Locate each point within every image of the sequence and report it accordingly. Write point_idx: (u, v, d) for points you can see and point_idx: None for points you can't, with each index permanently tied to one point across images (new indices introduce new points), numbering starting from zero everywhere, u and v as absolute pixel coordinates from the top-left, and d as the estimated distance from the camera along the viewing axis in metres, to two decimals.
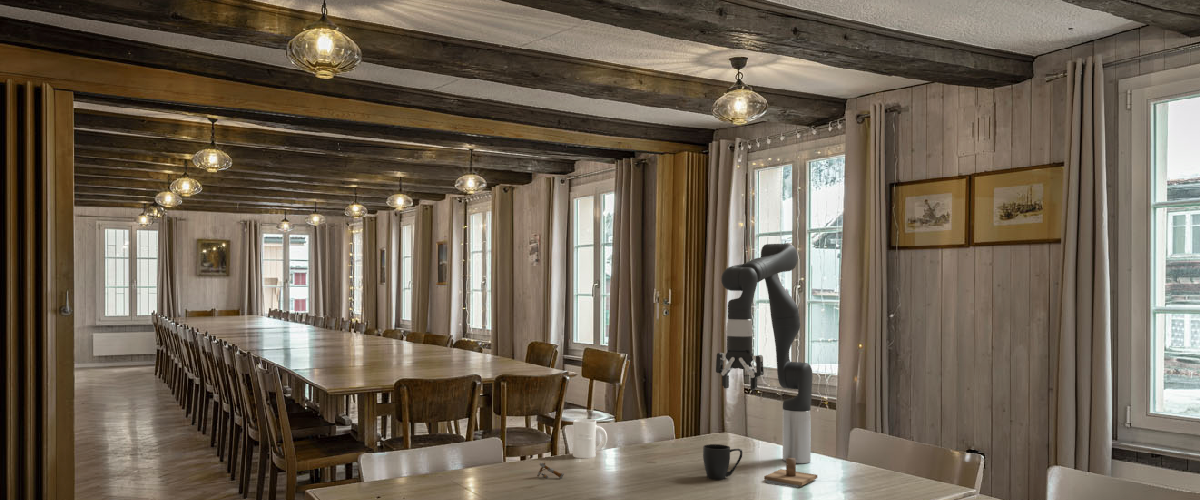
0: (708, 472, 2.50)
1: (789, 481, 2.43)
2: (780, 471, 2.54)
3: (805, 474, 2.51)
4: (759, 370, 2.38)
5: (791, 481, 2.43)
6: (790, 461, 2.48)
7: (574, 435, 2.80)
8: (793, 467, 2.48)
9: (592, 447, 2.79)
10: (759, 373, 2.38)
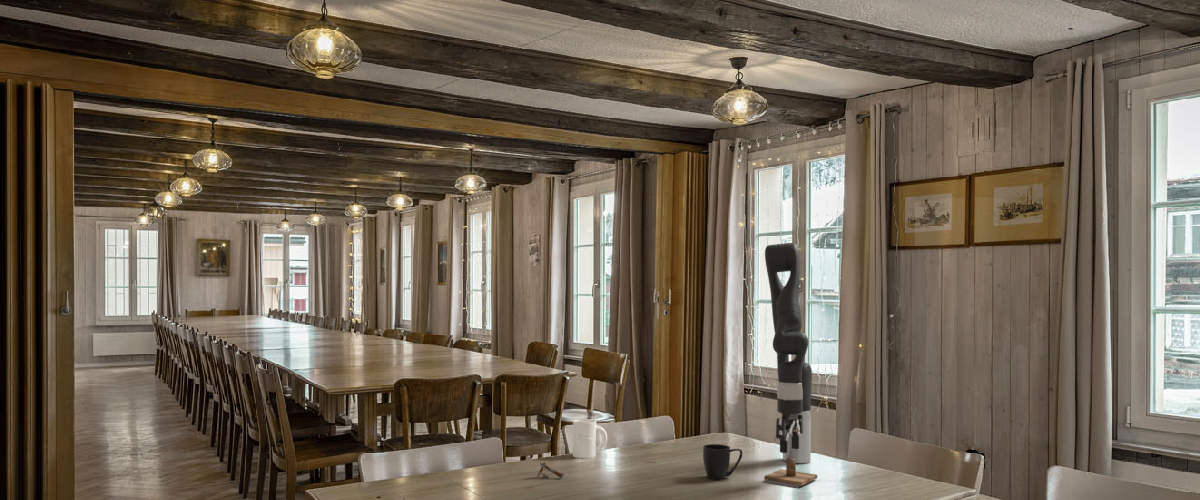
0: (708, 472, 2.50)
1: (789, 481, 2.43)
2: (780, 471, 2.54)
3: (805, 474, 2.51)
4: (802, 428, 2.54)
5: (791, 481, 2.43)
6: (790, 461, 2.48)
7: (574, 435, 2.80)
8: (793, 467, 2.48)
9: (592, 447, 2.79)
10: (802, 431, 2.54)
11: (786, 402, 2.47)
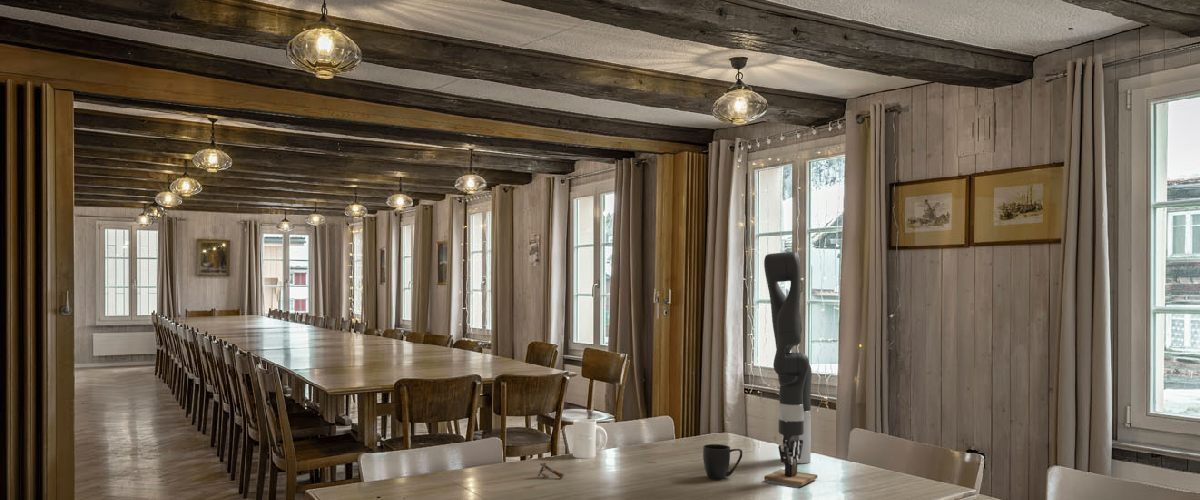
0: (708, 472, 2.50)
1: (789, 481, 2.43)
2: (780, 471, 2.54)
3: (805, 474, 2.51)
4: (800, 454, 2.52)
5: (791, 481, 2.43)
6: None
7: (574, 435, 2.80)
8: (793, 467, 2.48)
9: (592, 447, 2.79)
10: (800, 456, 2.52)
11: (787, 424, 2.46)
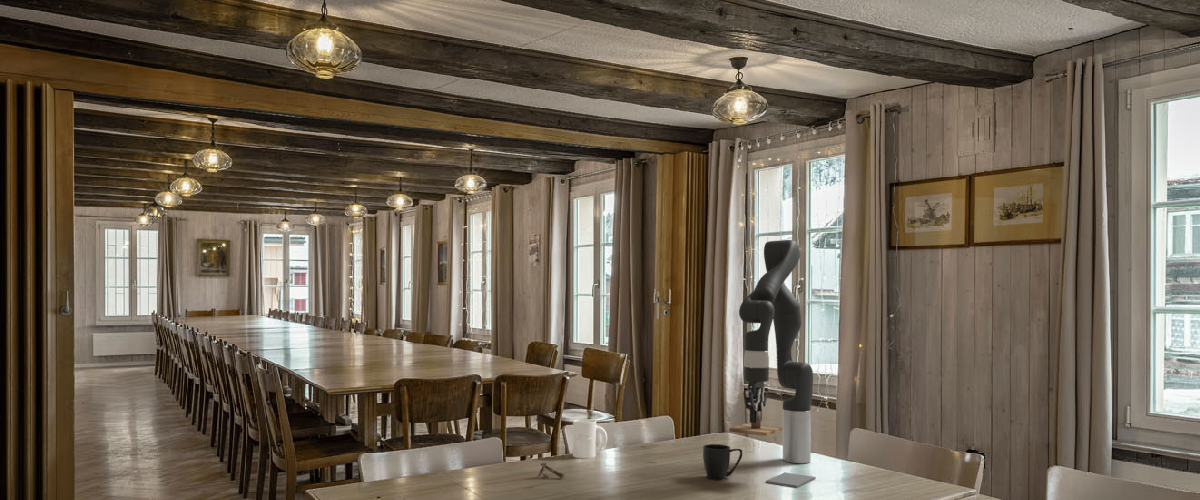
0: (708, 472, 2.50)
1: (754, 432, 2.44)
2: (745, 425, 2.56)
3: (770, 427, 2.52)
4: (765, 401, 2.54)
5: (756, 432, 2.44)
6: None
7: (574, 435, 2.80)
8: (758, 419, 2.49)
9: (592, 447, 2.79)
10: (765, 404, 2.54)
11: (752, 370, 2.48)
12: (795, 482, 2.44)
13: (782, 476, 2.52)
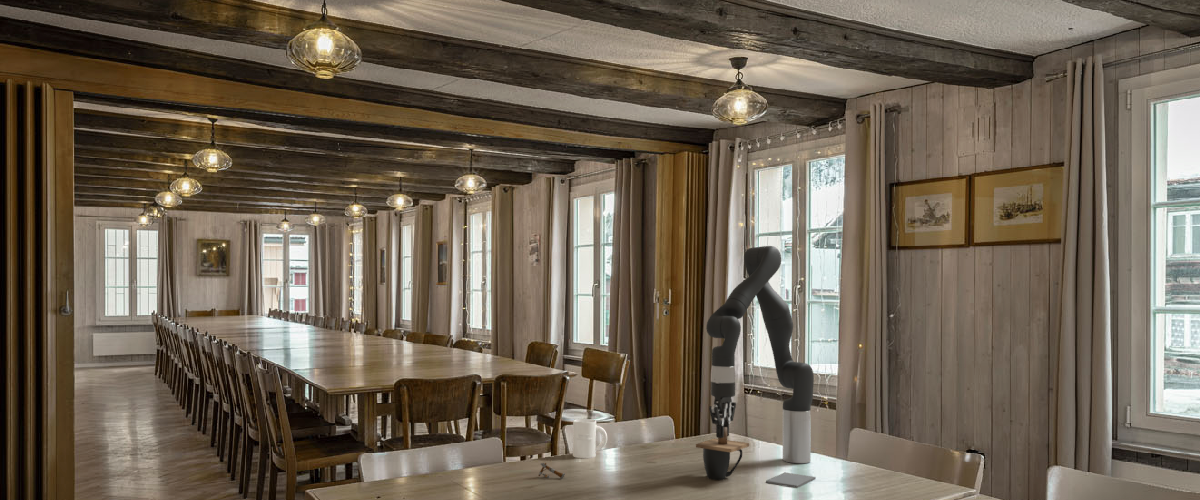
0: (708, 472, 2.50)
1: (719, 448, 2.46)
2: (713, 440, 2.57)
3: (737, 442, 2.54)
4: (733, 416, 2.56)
5: (721, 448, 2.46)
6: None
7: (574, 435, 2.80)
8: (725, 435, 2.51)
9: (592, 447, 2.79)
10: (732, 418, 2.55)
11: (718, 385, 2.50)
12: (795, 482, 2.44)
13: (782, 476, 2.52)
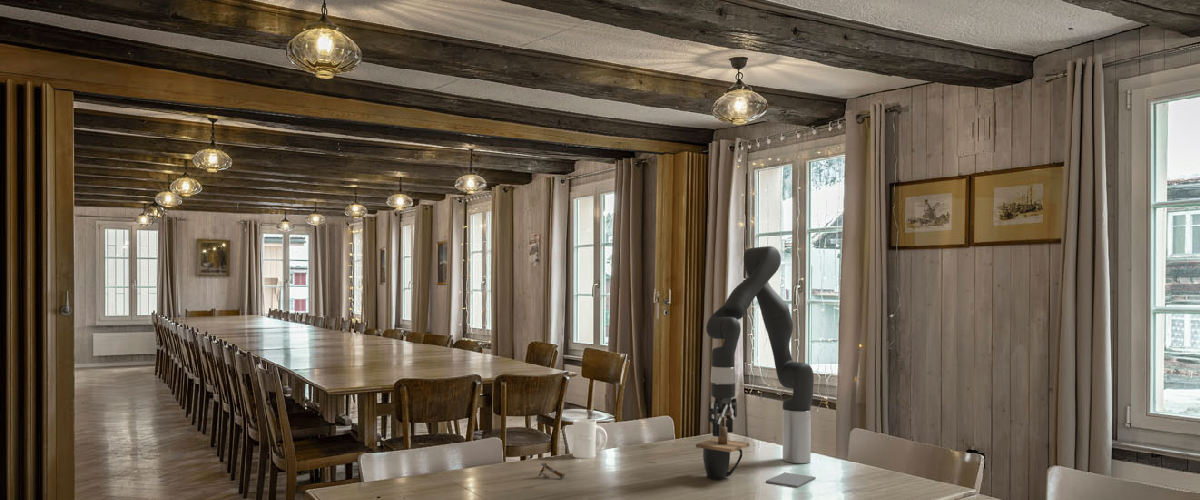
0: (708, 472, 2.50)
1: (719, 448, 2.46)
2: (713, 440, 2.57)
3: (737, 442, 2.54)
4: (736, 412, 2.57)
5: (721, 448, 2.46)
6: (721, 429, 2.51)
7: (574, 435, 2.80)
8: (725, 435, 2.51)
9: (592, 447, 2.79)
10: (736, 414, 2.57)
11: (718, 386, 2.50)
12: (795, 482, 2.44)
13: (782, 476, 2.52)
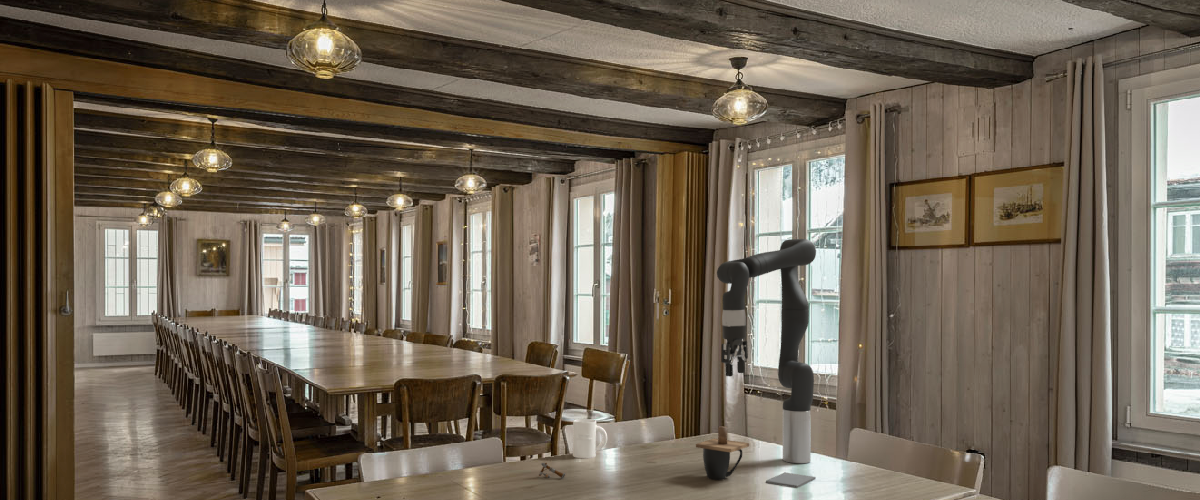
0: (708, 472, 2.50)
1: (719, 448, 2.46)
2: (713, 440, 2.57)
3: (737, 442, 2.54)
4: (747, 353, 2.67)
5: (721, 448, 2.46)
6: (721, 429, 2.51)
7: (574, 435, 2.80)
8: (725, 435, 2.51)
9: (592, 447, 2.79)
10: (747, 356, 2.67)
11: (730, 328, 2.59)
12: (795, 482, 2.44)
13: (782, 476, 2.52)
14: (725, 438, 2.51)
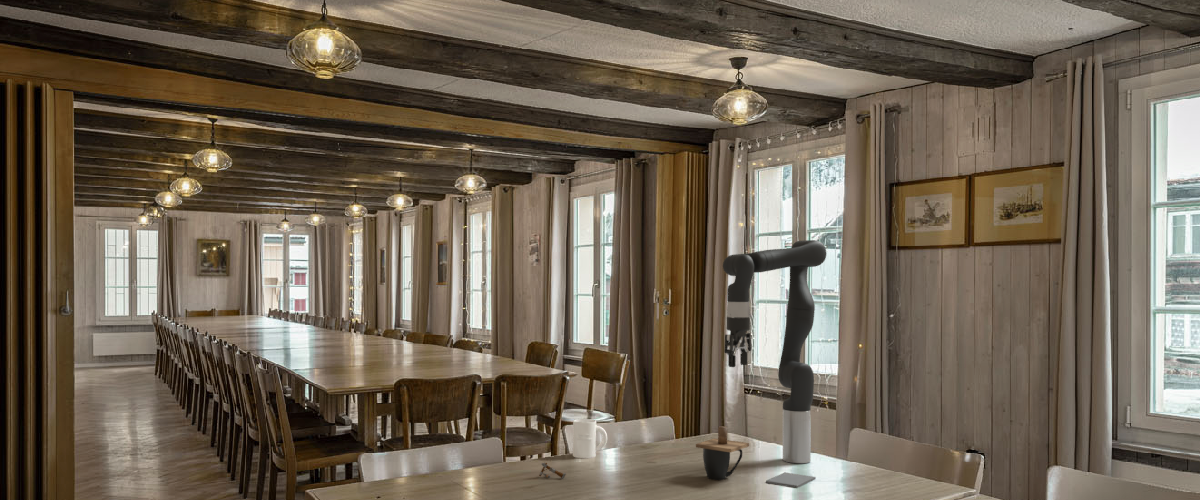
0: (708, 472, 2.50)
1: (719, 448, 2.46)
2: (713, 440, 2.57)
3: (737, 442, 2.54)
4: (750, 346, 2.70)
5: (721, 448, 2.46)
6: (721, 429, 2.51)
7: (574, 435, 2.80)
8: (725, 435, 2.51)
9: (592, 447, 2.79)
10: (750, 348, 2.70)
11: (734, 320, 2.63)
12: (795, 482, 2.44)
13: (782, 476, 2.52)
14: (725, 438, 2.51)
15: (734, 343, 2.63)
